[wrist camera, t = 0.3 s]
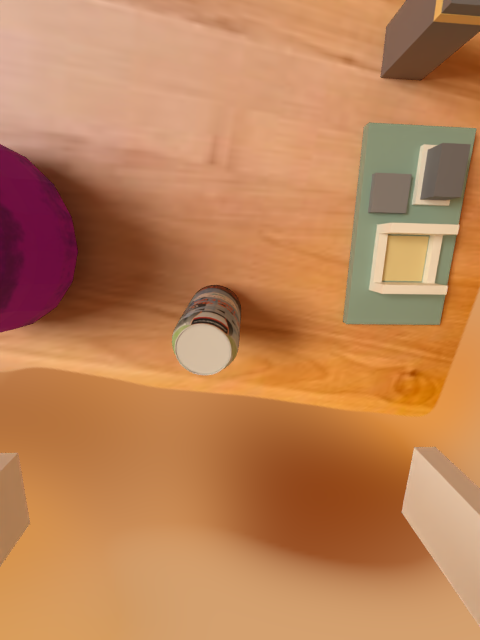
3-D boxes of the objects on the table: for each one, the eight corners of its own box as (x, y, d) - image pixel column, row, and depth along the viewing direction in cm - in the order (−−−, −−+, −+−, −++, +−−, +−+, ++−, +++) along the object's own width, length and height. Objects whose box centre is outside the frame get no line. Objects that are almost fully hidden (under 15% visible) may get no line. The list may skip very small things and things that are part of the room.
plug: (386, 25, 31) (462, -77, 21) (428, 29, 31) (523, -71, 21) (380, 78, 32) (450, 3, 22) (421, 80, 32) (508, 8, 22)
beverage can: (248, 295, 36) (260, 318, 25) (224, 348, 38) (226, 393, 26) (199, 274, 35) (189, 288, 24) (177, 329, 37) (157, 368, 25)
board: (364, 127, 33) (384, 110, 29) (467, 132, 34) (501, 116, 29) (342, 321, 38) (357, 330, 34) (433, 322, 39) (458, 331, 35)
